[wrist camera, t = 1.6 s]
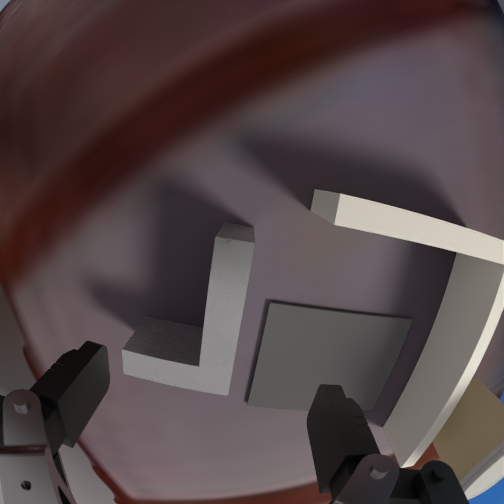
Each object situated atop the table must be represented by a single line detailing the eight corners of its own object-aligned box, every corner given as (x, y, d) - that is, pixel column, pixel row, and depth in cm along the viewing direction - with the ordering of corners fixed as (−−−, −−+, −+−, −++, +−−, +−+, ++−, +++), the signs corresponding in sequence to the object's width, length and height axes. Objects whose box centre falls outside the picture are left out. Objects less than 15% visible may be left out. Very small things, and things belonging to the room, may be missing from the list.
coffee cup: (412, 440, 26) (448, 513, 14) (419, 389, 24) (473, 473, 12) (473, 410, 25) (517, 468, 13) (486, 355, 23) (548, 416, 11)
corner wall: (314, 188, 19) (340, 193, 13) (473, 231, 20) (521, 247, 14) (258, 426, 24) (259, 475, 18) (393, 426, 25) (413, 465, 19)
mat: (269, 301, 21) (270, 302, 21) (411, 318, 21) (412, 319, 21) (247, 402, 23) (247, 405, 23) (371, 408, 24) (372, 410, 24)
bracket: (232, 354, 22) (227, 395, 17) (145, 337, 22) (123, 373, 17) (254, 227, 20) (254, 243, 15) (153, 211, 20) (124, 222, 15)
